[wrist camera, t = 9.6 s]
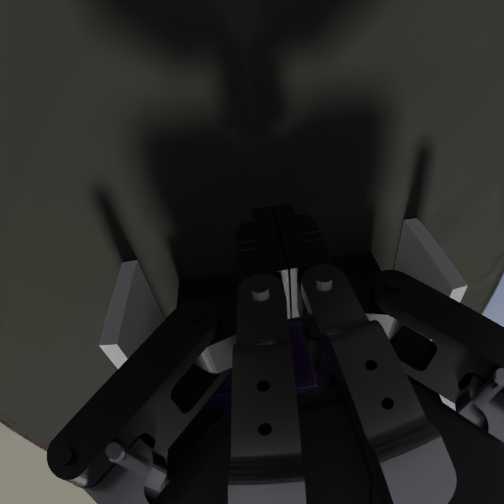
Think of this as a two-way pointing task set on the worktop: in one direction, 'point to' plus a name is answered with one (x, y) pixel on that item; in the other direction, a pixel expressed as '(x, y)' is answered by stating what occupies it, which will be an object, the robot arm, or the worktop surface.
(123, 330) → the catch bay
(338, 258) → the energy cube
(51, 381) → the worktop surface
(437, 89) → the worktop surface
